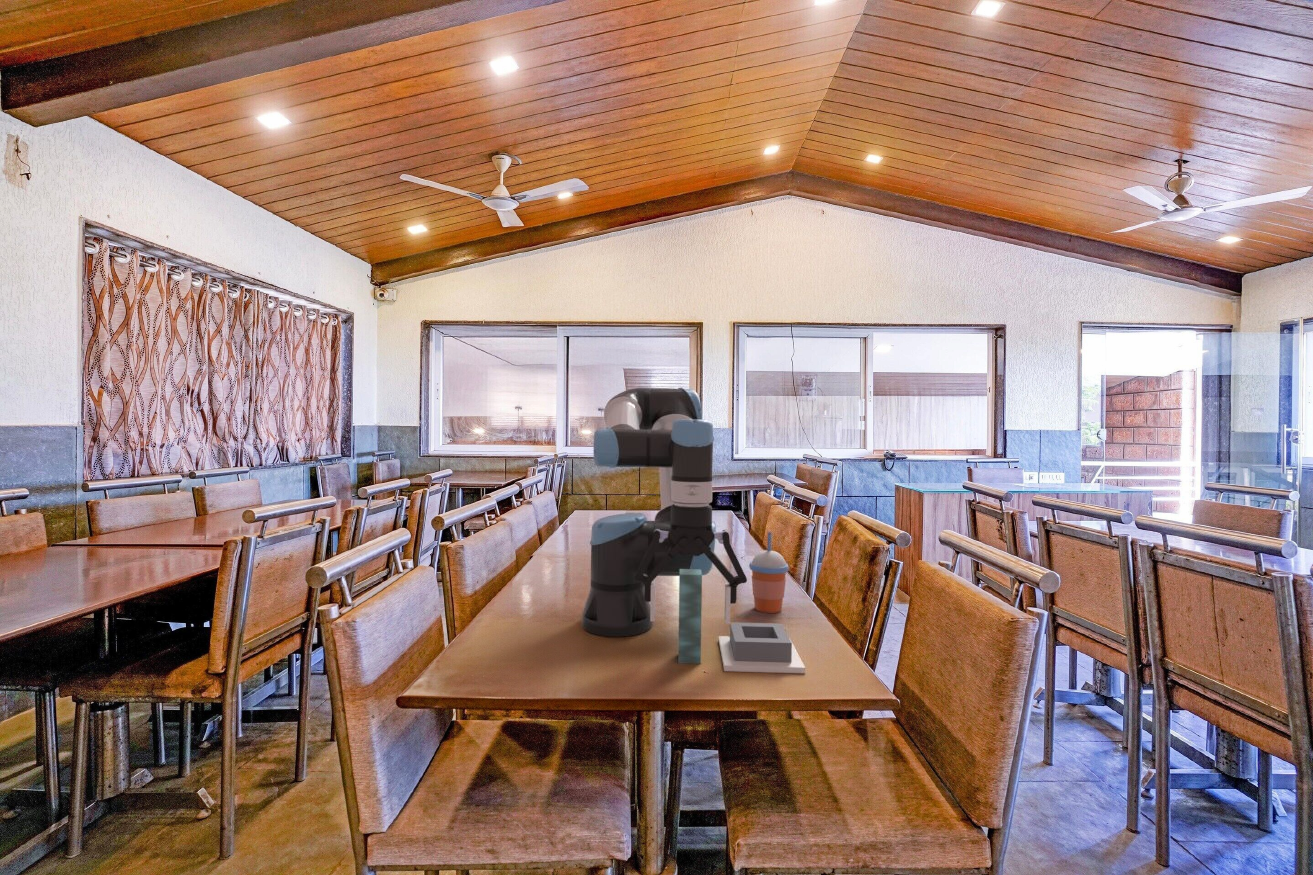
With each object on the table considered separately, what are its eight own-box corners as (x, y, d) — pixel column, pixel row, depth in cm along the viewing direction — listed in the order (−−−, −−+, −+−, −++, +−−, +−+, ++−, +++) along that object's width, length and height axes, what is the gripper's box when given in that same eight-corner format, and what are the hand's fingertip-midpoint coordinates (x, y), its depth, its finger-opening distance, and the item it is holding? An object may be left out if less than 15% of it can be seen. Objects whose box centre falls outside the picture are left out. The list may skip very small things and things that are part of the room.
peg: (678, 662, 105) (679, 574, 104) (678, 653, 109) (679, 568, 108) (700, 663, 104) (701, 574, 104) (699, 654, 108) (701, 569, 108)
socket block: (724, 670, 101) (724, 645, 101) (718, 640, 115) (719, 618, 115) (805, 673, 101) (805, 647, 101) (789, 642, 115) (790, 620, 115)
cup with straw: (791, 615, 131) (793, 536, 131) (751, 615, 131) (752, 535, 131) (783, 603, 140) (785, 529, 140) (746, 602, 140) (747, 528, 140)
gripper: (621, 505, 103) (619, 624, 103) (763, 507, 102) (761, 628, 102) (625, 500, 110) (623, 611, 110) (757, 502, 109) (755, 614, 109)
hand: (689, 619), depth 106 cm, fingers open, 13 cm apart
